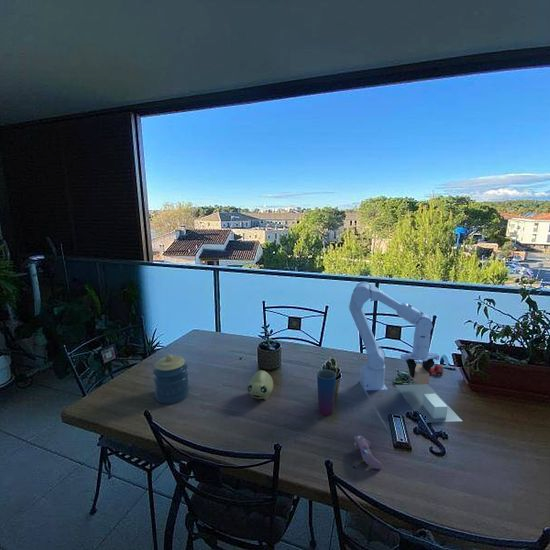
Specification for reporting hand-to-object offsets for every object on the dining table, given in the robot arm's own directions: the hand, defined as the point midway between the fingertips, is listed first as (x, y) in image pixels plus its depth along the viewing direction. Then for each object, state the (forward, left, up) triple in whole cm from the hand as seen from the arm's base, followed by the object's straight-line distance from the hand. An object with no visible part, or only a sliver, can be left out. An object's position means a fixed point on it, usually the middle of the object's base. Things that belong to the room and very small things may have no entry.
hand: (418, 376), depth 129 cm
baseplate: (0, -7, -7) cm, 10 cm away
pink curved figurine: (-31, -33, -8) cm, 46 cm away
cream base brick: (0, -13, -7) cm, 15 cm away
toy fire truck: (+11, +14, -7) cm, 19 cm away
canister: (-98, +4, -7) cm, 98 cm away
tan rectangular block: (0, 0, -1) cm, 1 cm away
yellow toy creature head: (-63, 0, -7) cm, 63 cm away
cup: (-39, -10, -7) cm, 41 cm away
